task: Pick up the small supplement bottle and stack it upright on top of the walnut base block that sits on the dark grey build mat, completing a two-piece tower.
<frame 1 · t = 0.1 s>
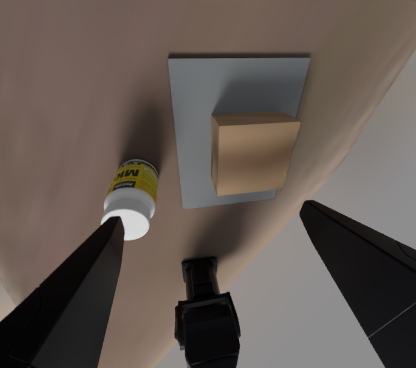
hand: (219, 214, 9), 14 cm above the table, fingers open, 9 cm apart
build mat: (234, 145, 23), on the table
supplement bottle: (138, 174, 24), on the table
base block: (243, 146, 23), resting on build mat
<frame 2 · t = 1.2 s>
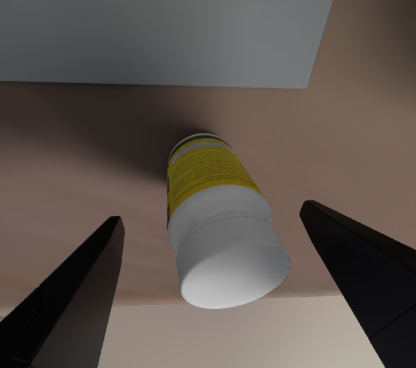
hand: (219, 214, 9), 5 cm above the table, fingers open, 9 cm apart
supplement bottle: (201, 163, 14), on the table
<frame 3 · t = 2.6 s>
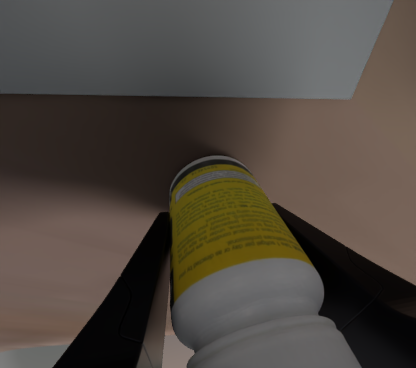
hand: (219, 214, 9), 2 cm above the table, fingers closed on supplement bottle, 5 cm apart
supplement bottle: (211, 189, 11), on the table, touching gripper
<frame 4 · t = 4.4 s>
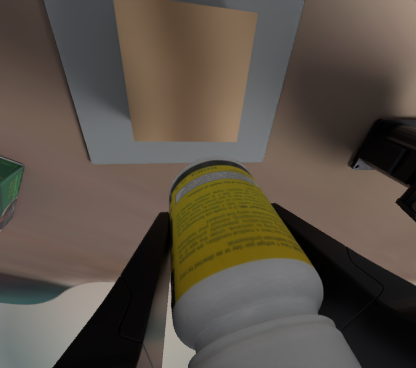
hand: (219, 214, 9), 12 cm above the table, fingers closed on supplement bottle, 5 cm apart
build mat: (184, 90, 17), on the table
coffee box: (4, 188, 19), on the table
supplement bottle: (211, 190, 11), point 10 cm above the table, touching gripper
base block: (184, 77, 16), resting on build mat
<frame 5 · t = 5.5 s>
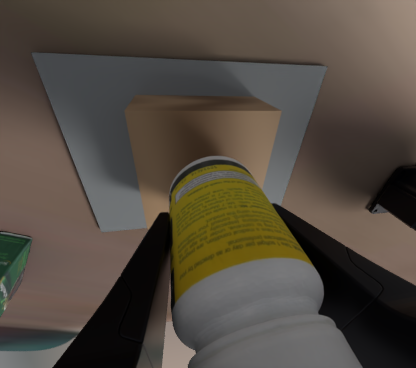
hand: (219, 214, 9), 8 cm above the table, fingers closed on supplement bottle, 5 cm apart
build mat: (196, 159, 16), on the table
coffee box: (12, 257, 19), on the table
supplement bottle: (210, 189, 11), point 6 cm above the table, touching gripper
base block: (197, 150, 15), resting on build mat
when the fingers open (7 cm above the table, at t = 6.3 s): supplement bottle drops 1 cm, resting on base block.
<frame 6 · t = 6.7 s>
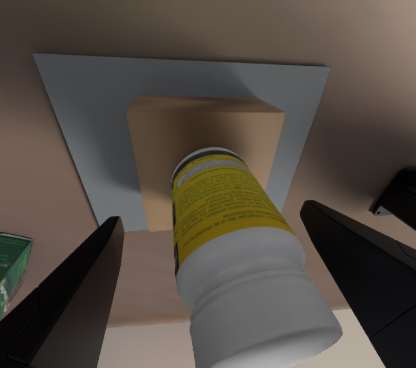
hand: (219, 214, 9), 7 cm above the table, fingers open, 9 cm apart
build mat: (198, 161, 16), on the table
coffee box: (13, 259, 19), on the table
supplement bottle: (209, 179, 12), point 4 cm above the table, touching base block
base block: (199, 152, 15), resting on build mat, touching supplement bottle
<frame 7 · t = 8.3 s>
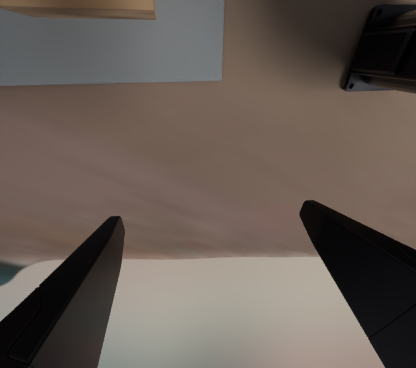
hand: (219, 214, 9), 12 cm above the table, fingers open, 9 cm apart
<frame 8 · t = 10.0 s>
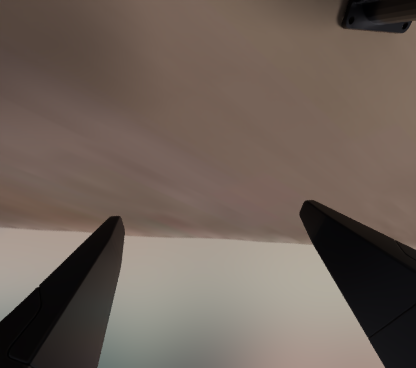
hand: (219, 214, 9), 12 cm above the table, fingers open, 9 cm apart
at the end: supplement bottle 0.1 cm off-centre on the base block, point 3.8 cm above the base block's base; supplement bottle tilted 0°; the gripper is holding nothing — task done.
